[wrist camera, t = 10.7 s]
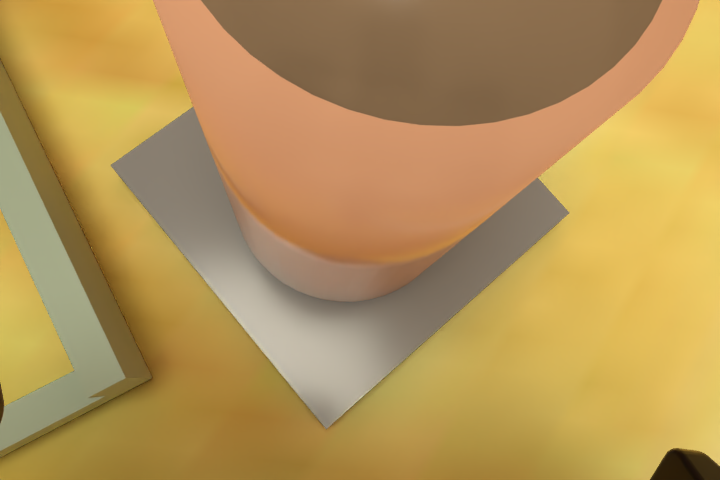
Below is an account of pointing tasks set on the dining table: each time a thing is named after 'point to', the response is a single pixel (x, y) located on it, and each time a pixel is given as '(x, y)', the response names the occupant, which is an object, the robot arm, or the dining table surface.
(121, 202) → the dining table surface
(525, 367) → the dining table surface
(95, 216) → the dining table surface
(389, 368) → the metal tile
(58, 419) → the cold frame
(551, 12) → the pink cup
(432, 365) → the dining table surface
